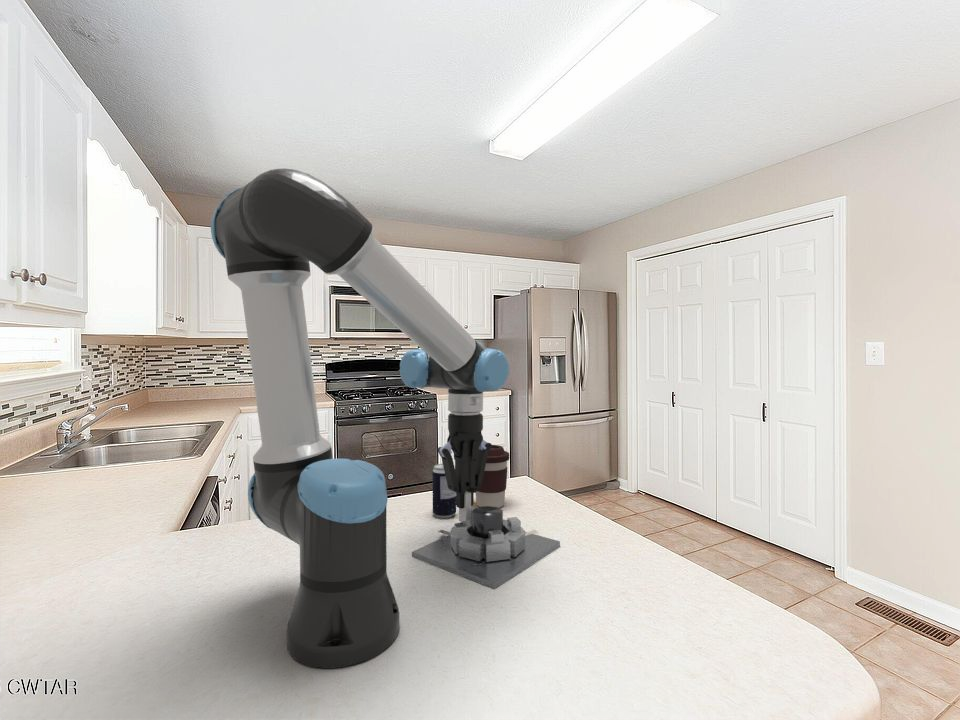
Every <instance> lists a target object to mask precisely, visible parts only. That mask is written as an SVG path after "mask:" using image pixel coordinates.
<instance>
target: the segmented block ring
mask: <svg viewBox="0 0 960 720" xmlns="http://www.w3.org/2000/svg"><path fill="white" fill-rule="evenodd" d="M478 507H480V506H479V505H478V504H477V502H476V501H474V503H473V506H471V519H468V521H462V522H460V521H459V522H457V523H455V522H454V524H453V526H452V527H451V529H450V533H451V547H452V548H453V550H454V552H455V554H459V556H460V557H464V558H468V559H472V560H476V561H480V562H481V561H482V560H483V559H485V560H486V562H490V561H497V560H505V559H510V556H512V557H516V556H517V555H518V554H519V553H520V552H521V551H522V550H524V549H525V532H526V530H525V529H524V528H523V527H522V525H521V524H522V523H521V519H520V518H518V517H517V516H515V517H507V518H506V519H504V518H503V532H502V531H501V530H494V531H488V539H483V538H479V537H474V536H473V531H472V511H473V509H475V508H478Z"/></svg>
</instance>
